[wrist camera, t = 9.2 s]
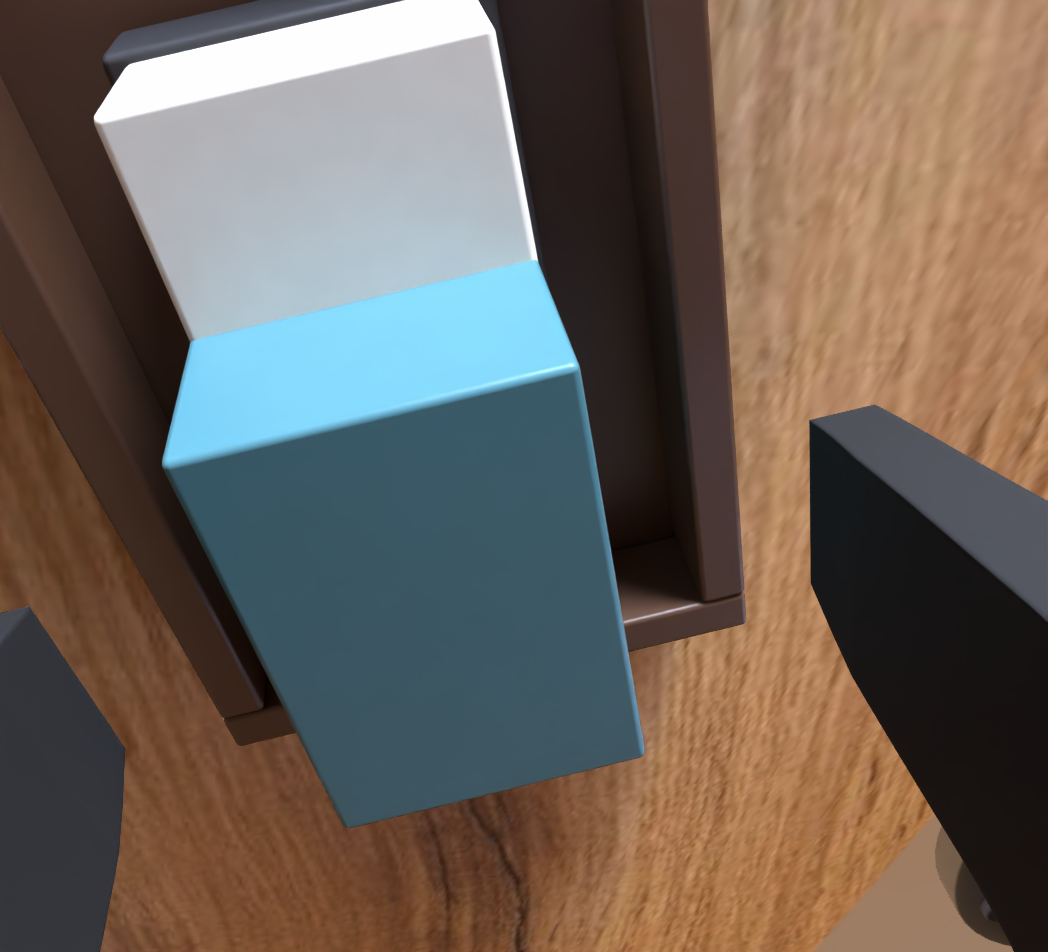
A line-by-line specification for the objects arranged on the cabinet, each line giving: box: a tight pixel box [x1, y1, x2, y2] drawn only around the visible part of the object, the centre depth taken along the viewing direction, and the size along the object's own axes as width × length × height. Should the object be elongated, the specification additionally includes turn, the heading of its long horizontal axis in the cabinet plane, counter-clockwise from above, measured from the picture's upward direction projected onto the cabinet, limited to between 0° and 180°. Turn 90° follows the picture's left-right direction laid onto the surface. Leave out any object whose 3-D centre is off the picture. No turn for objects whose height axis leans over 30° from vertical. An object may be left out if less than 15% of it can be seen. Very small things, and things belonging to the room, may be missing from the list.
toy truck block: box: [94, 0, 645, 828], centre depth 10 cm, size 7×4×4 cm, turn 10°
